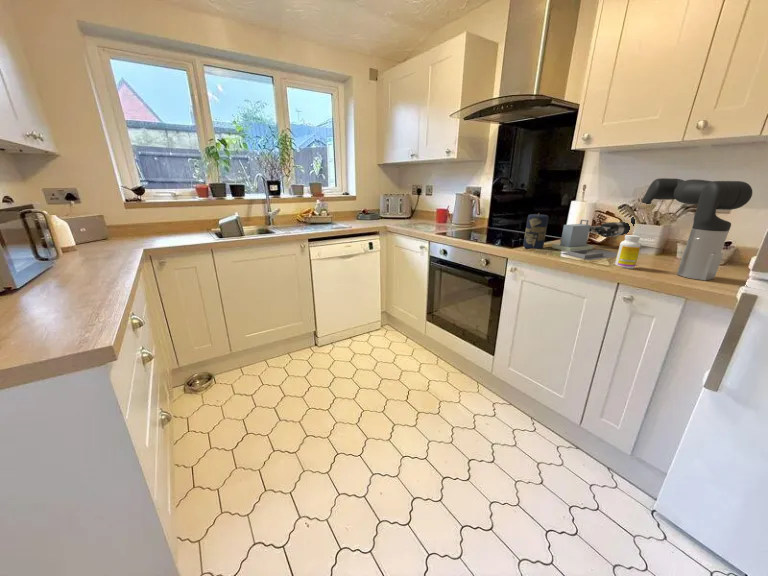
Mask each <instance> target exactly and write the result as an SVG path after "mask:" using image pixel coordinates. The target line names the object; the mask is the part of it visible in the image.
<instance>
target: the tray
mask: <svg viewBox="0 0 768 576" xmlns="http://www.w3.org/2000/svg"><path fill="white" fill-rule="evenodd" d="M552 249H557V250H561V251H564V252H567V251H574V250H584V249H586V250H594V245H592V244H588V243H586V246H582V247H572V248H569V247H565V246H560V243H554V244H552Z"/></svg>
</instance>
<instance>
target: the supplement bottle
mask: <svg viewBox="0 0 768 576" xmlns="http://www.w3.org/2000/svg"><path fill="white" fill-rule="evenodd" d="M640 238H641V236H640V235H639V236H638V235H627V234H625V235H624V240H621V242H620V243H619V247H618V250H617V253H618V254H617V257H615V262H614V265H616V266H617V267H621V268H622V269H629V270H631V269H632V270H633V269H635V267H636V266H637V265H636V264H637V262H638V261H637V260H638V258H639V253H640V250H641V245H642V244H641V243H640V242H639V240H640Z"/></svg>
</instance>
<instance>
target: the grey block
mask: <svg viewBox="0 0 768 576" xmlns="http://www.w3.org/2000/svg"><path fill="white" fill-rule="evenodd" d="M583 222H585V223H586V224H584V223H583ZM590 226H591V224H589V220H587V219H580V221H579V223H576V224H575V223H572V224H563V228H562V234H561V238H560V243H559V244H560V246H565V247H569V248H572V247H582V246H586V244H588V238H589V234H590V232H589V230H590Z"/></svg>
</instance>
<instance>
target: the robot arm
mask: <svg viewBox="0 0 768 576" xmlns="http://www.w3.org/2000/svg"><path fill="white" fill-rule="evenodd" d="M752 197H753V188H752V186H751V185H750V184H749V183H747V182H745V181H739V180H705V179H687V180H683V179H682V178H681V179H680V178H667V177H666V178H665V177H663V178H661V177H660V178H656V179H654V180H653V181H652V182H651V183H650V185H649V186H648V188H647V189H646V192H645V194H644V196H643V198H642V200H641V202H643V203H646V204H651V203H652V201H653V200H665V201H667V200H668V201H671V200H675V201H677V202H679V203H681V204H686V205H697V207H696V208H695V209H696V210H695V214H694V217H693V224H692V227H691V230H690V234H689V236H688V238H687V239H688V240H687V241H686V242H687V243H686V245H685V247H684V248H685V249H684V251H683V254H682V257H681V260H680V263H679V266H678V269H677V272H676V275H678V276H680V277H684V278H689V279H691V280H692V279H693V280H699V281H709V280H714V279H715V277H716V276H717V275H716V274H717V272H718V271H719V270H718V269H719V266H720V265H721V261H722V259H723V257H724V252H722V251H723V248H724V245H725V243H726V240H727V238H728V236H729V233H730V231H731V230H730V229H731V227H732V223H731V222H730V221H728V220H726V219H724V218H723V219H722V218H720V217H719V216H717V215H716V212H717V210H723V211H725V210H728V211H730V210H731V211H732V210H737V209H739V208H742V207H743V206H745V205H747V203H749V202H750V200H751V198H752ZM652 204H653V203H652ZM630 218H631V217H630ZM631 223H632V224H633V226H634V224H635V219H634V217H632V218H631ZM629 230H630V226H629V224H628V223H625V222H623V221H621V222H618V221H617V222H616V221H615V222H614V221H613V222H611V221H610V222H604V223H602V224H601V225H597V226H595V225H590V230H589V233H591V234H597V235H599V236H601V237H603V238H610V237H617V236H625V235H627V233H628V232H629ZM624 234H625V235H624Z"/></svg>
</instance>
